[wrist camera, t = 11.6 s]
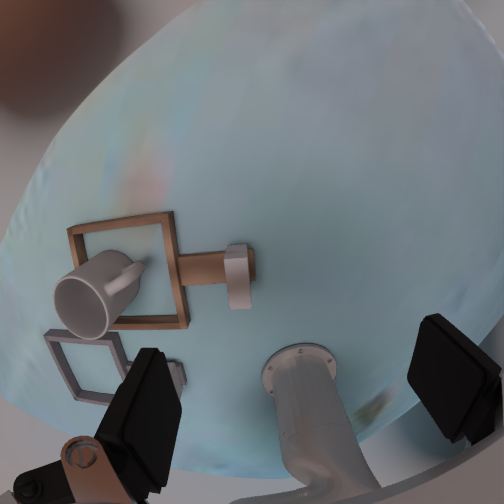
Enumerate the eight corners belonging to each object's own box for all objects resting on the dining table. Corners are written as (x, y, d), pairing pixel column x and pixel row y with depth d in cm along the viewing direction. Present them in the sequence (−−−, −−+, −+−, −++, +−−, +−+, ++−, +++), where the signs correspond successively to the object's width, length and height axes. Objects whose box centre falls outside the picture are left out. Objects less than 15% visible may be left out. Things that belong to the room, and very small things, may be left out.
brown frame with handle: (258, 315, 39) (261, 343, 32) (99, 321, 39) (79, 344, 32) (249, 203, 35) (250, 209, 28) (75, 225, 35) (47, 235, 28)
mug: (110, 311, 39) (79, 348, 28) (82, 265, 37) (41, 292, 26) (169, 280, 38) (145, 317, 27) (139, 227, 36) (102, 248, 25)
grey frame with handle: (193, 403, 44) (188, 432, 37) (79, 392, 44) (66, 414, 37) (173, 332, 40) (162, 360, 33) (50, 329, 40) (29, 348, 33)
